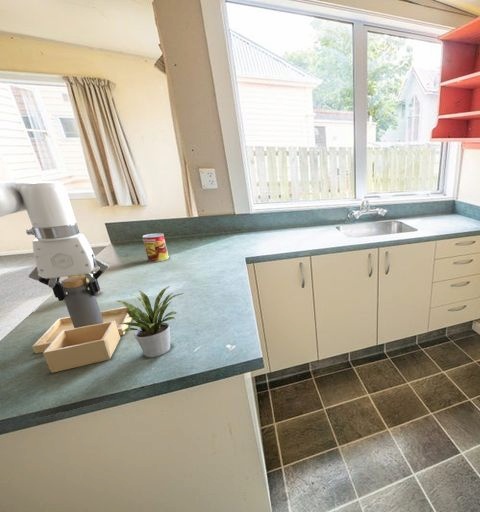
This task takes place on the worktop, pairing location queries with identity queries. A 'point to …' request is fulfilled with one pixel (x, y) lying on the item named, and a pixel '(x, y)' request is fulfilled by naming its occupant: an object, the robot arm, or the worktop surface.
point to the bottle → (81, 302)
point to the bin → (82, 346)
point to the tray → (67, 324)
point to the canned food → (155, 247)
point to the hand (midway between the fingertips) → (79, 295)
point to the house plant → (151, 324)
